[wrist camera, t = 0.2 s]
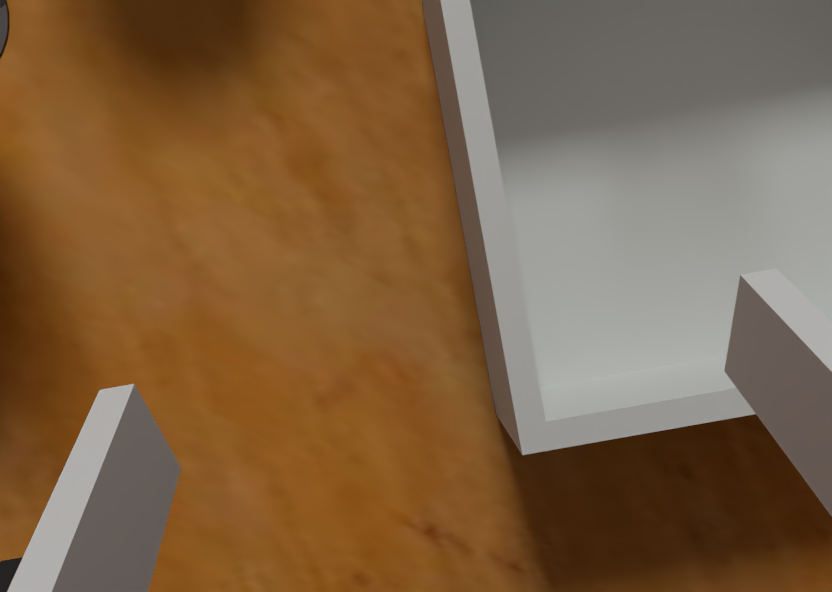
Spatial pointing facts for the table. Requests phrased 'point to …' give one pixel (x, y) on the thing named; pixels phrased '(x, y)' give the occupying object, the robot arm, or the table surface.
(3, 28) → the wine glass
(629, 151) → the bin
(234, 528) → the table surface
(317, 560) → the table surface
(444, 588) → the table surface
